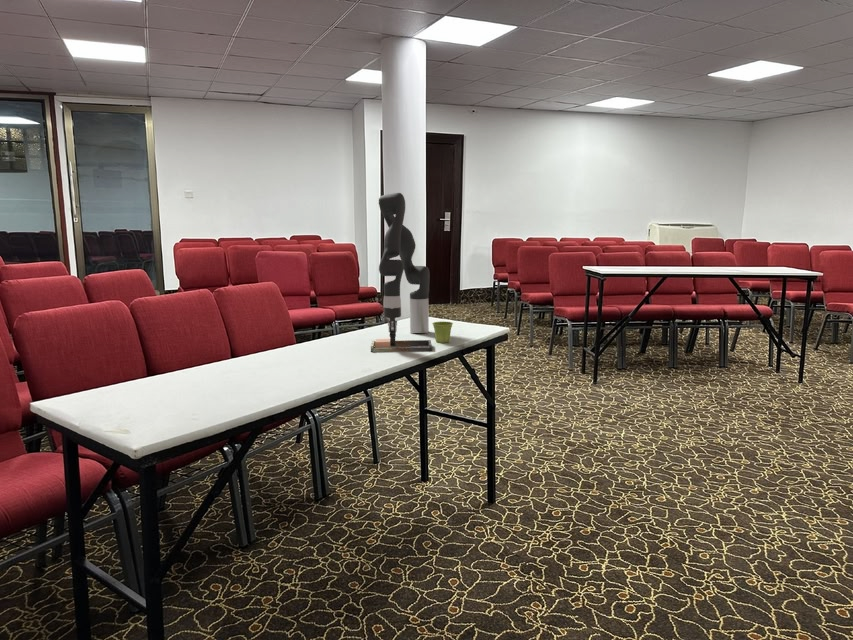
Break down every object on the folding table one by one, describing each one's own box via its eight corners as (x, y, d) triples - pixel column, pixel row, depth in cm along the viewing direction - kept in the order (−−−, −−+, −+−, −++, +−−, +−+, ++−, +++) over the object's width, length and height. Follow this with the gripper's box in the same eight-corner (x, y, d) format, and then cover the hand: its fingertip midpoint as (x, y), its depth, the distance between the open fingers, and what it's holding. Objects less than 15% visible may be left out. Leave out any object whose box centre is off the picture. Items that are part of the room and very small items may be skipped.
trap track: (372, 346, 260) (372, 340, 259) (430, 345, 261) (430, 340, 260) (370, 352, 248) (370, 346, 248) (431, 351, 249) (431, 345, 249)
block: (376, 348, 257) (375, 339, 257) (390, 347, 258) (390, 338, 257) (375, 351, 251) (375, 342, 250) (390, 350, 251) (390, 341, 251)
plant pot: (453, 343, 264) (453, 324, 263) (432, 343, 264) (432, 324, 263) (452, 339, 274) (452, 321, 272) (432, 339, 274) (432, 321, 272)
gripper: (383, 304, 258) (384, 342, 260) (383, 308, 245) (383, 348, 247) (400, 303, 258) (401, 342, 261) (400, 308, 245) (401, 348, 248)
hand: (392, 345), depth 254 cm, fingers closed
